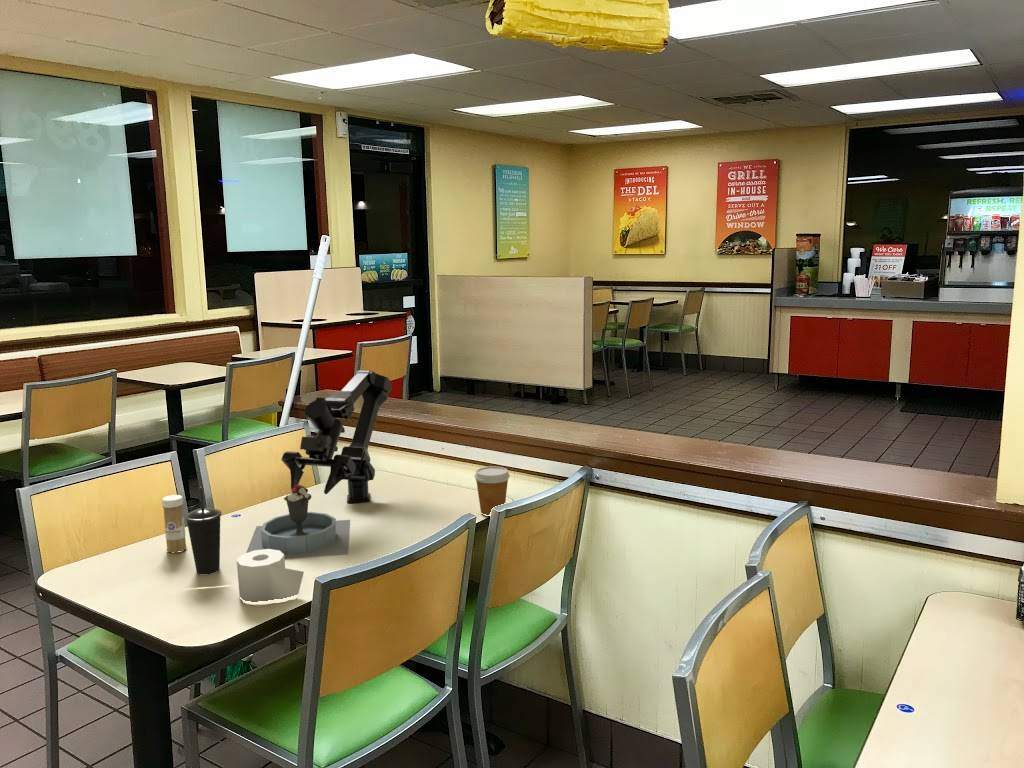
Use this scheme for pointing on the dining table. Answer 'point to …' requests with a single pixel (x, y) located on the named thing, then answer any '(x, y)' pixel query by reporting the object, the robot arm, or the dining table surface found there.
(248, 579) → the toilet tissue
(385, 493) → the dining table surface
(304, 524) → the bowl
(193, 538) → the drinking cup
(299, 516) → the sundae
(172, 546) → the sprinkles bottle
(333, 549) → the mat
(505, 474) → the disposable coffee cup
